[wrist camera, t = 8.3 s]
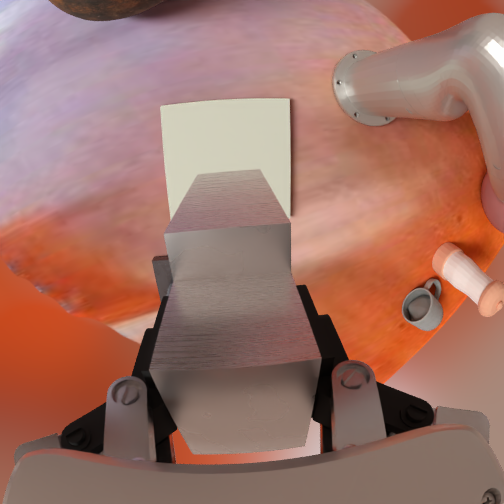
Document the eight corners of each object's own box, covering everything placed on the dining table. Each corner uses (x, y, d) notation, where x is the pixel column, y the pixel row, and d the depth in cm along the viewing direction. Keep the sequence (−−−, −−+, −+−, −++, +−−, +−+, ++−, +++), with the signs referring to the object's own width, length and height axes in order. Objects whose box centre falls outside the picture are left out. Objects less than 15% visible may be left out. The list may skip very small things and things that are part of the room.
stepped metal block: (260, 169, 18) (329, 296, 5) (265, 282, 22) (301, 461, 9) (197, 174, 18) (125, 311, 5) (212, 287, 22) (202, 469, 9)
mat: (288, 99, 37) (289, 98, 36) (288, 216, 44) (290, 218, 44) (162, 106, 36) (160, 106, 35) (172, 223, 43) (171, 225, 42)
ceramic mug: (413, 320, 57) (430, 340, 51) (395, 308, 55) (413, 329, 48) (442, 285, 54) (461, 302, 47) (426, 269, 52) (447, 288, 45)
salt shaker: (428, 273, 52) (482, 327, 35) (437, 241, 49) (499, 290, 32) (450, 272, 53) (502, 321, 36) (459, 242, 50) (518, 287, 32)
